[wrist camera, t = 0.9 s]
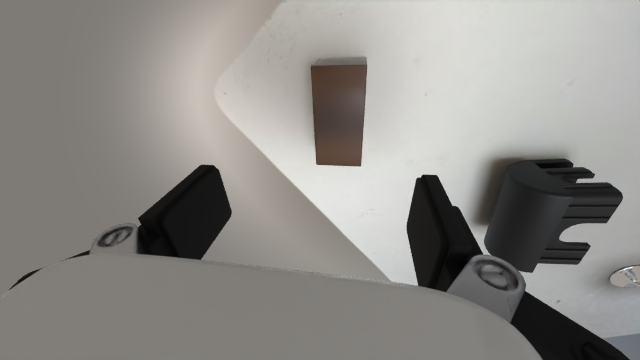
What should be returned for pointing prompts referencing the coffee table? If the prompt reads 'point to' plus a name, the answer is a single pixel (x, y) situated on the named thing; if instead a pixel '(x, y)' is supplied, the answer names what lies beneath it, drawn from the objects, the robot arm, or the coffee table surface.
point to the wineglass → (626, 277)
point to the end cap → (546, 212)
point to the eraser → (339, 109)
